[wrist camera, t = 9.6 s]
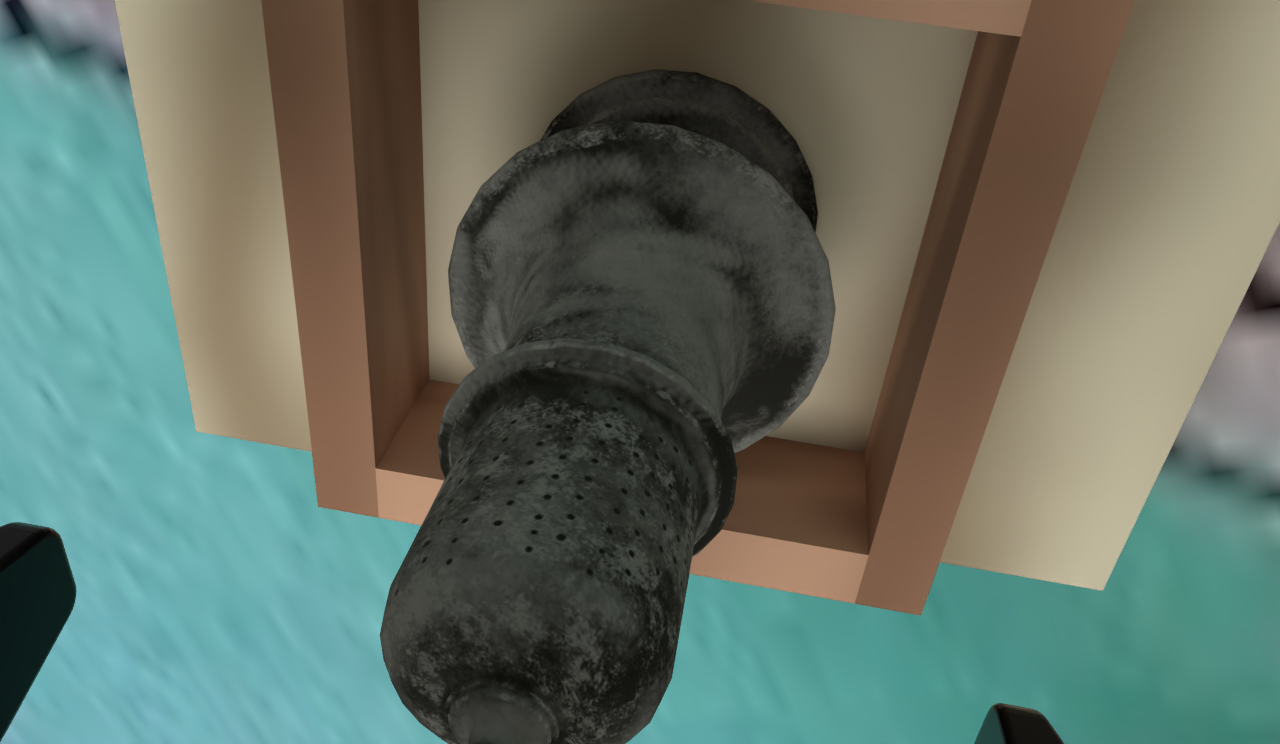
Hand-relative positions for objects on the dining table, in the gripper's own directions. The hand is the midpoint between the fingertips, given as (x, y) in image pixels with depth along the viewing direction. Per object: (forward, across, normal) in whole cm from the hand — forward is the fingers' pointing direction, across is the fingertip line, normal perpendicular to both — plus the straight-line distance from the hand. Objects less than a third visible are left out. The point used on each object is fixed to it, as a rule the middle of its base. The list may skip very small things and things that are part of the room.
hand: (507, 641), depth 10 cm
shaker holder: (+12, 0, 0) cm, 12 cm away
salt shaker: (+10, 0, 0) cm, 11 cm away
